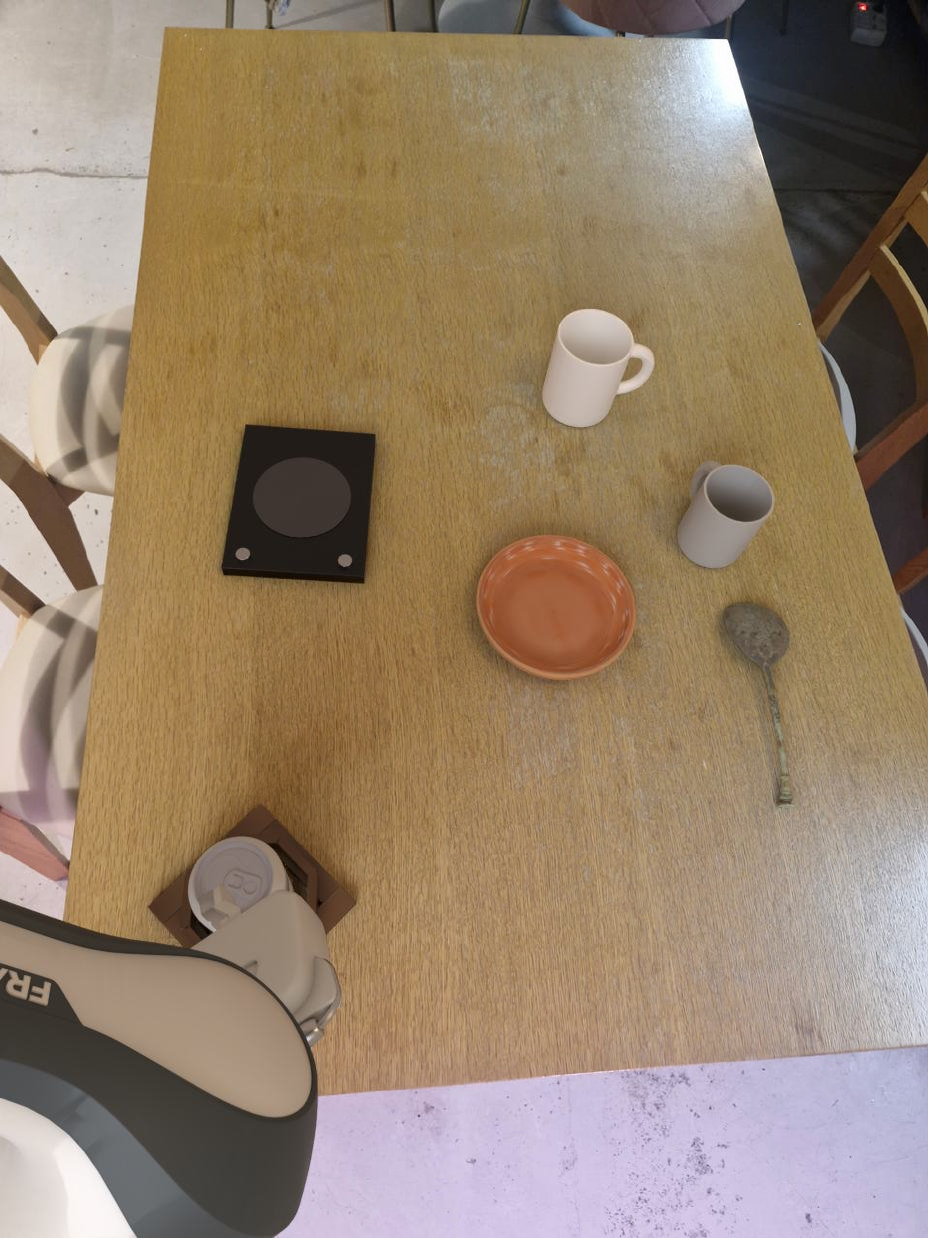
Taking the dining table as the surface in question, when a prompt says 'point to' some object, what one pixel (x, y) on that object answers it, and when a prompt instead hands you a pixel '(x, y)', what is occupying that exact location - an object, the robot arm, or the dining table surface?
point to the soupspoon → (763, 663)
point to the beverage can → (237, 873)
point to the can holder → (264, 827)
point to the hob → (301, 505)
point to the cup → (723, 513)
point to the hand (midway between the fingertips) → (149, 942)
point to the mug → (591, 367)
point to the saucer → (555, 607)
